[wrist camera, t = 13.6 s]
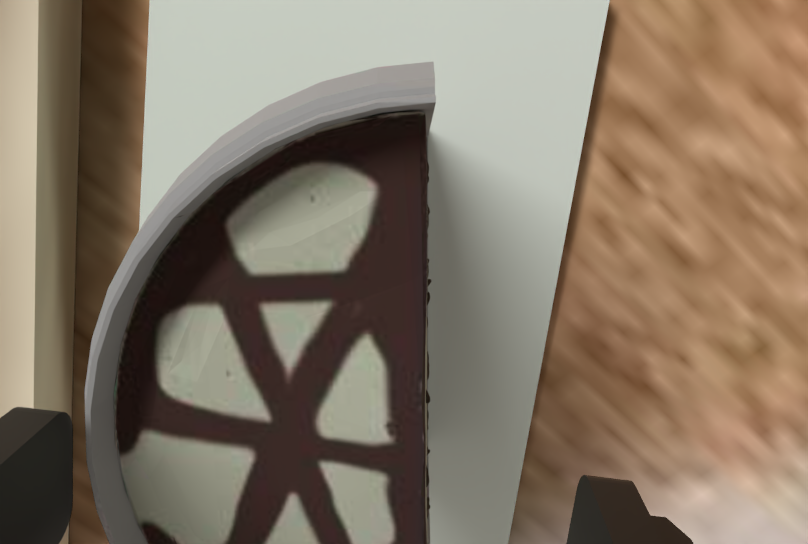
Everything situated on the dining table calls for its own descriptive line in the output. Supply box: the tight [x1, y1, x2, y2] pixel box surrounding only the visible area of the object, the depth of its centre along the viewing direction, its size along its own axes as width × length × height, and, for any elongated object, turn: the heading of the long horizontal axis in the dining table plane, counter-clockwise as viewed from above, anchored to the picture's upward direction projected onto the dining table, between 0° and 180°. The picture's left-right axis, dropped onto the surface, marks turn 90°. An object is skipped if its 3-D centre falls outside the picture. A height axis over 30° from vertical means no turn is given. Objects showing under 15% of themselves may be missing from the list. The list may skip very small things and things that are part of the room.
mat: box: [139, 0, 610, 544], centre depth 22 cm, size 12×18×1 cm, turn 173°
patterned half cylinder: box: [84, 62, 436, 544], centre depth 17 cm, size 12×6×10 cm, turn 0°
